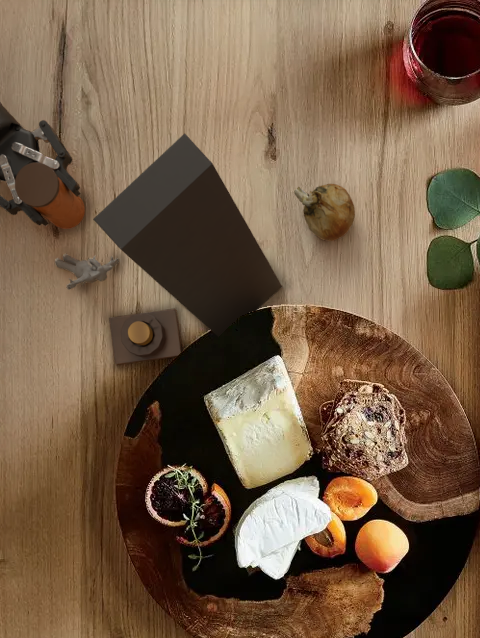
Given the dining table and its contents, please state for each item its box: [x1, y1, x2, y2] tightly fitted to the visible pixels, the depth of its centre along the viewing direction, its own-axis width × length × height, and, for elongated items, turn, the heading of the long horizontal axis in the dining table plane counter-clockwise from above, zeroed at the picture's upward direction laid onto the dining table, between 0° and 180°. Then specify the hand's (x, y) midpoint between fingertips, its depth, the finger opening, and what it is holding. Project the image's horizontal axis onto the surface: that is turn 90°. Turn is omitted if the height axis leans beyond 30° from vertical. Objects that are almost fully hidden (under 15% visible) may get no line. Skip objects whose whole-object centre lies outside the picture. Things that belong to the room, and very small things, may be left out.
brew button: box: [128, 321, 153, 345], centre depth 120 cm, size 3×3×2 cm
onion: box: [293, 183, 356, 242], centre depth 118 cm, size 8×8×8 cm
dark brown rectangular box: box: [92, 133, 283, 338], centre depth 100 cm, size 16×12×44 cm
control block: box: [108, 308, 183, 366], centre depth 121 cm, size 10×7×2 cm
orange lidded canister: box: [15, 162, 86, 230], centre depth 118 cm, size 6×6×10 cm
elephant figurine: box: [54, 253, 120, 291], centre depth 120 cm, size 10×6×9 cm
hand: (60, 207), depth 117 cm, fingers closed on orange lidded canister, 5 cm apart
